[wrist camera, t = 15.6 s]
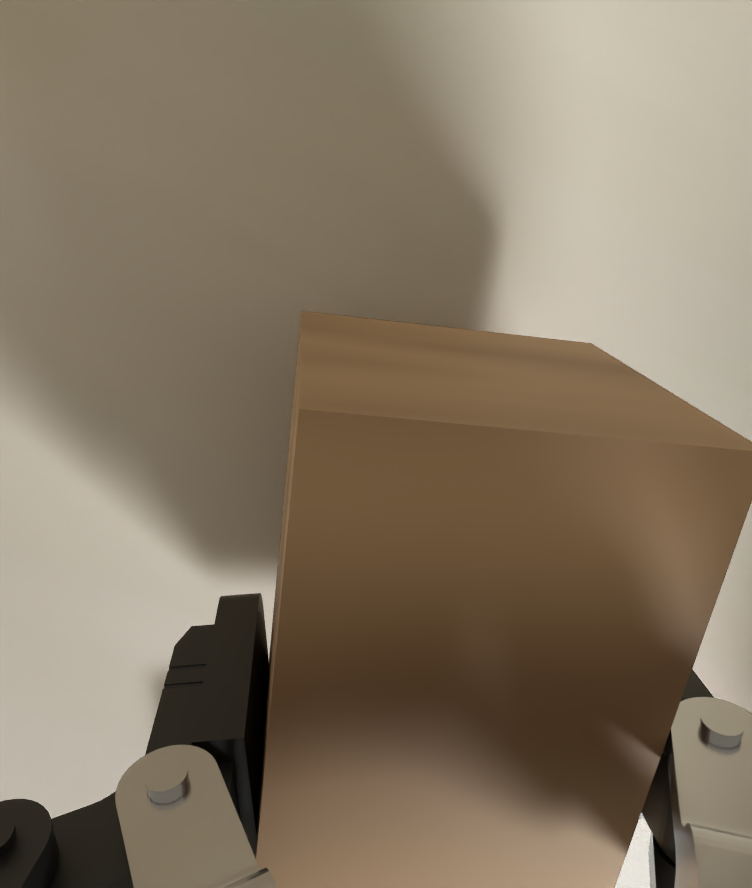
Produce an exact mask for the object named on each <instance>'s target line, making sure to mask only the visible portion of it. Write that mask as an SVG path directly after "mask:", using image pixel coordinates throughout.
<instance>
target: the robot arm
mask: <svg viewBox="0 0 752 888" xmlns="http://www.w3.org/2000/svg"><path fill="white" fill-rule="evenodd" d="M268 673H269V659H268V649H267V640H266V630H265V620H264V611H263V602H262V596H261V593H257V594H244V595H231V596H221V597H220V599H219V604H218V609H217V614H216V619H215V624H214V625H203V626H191V628H190V629H189V630H188V631H187V632H186V633H185V635H184V636H183V637H182V638H181V639H180V640H179V641H178V643H177V644H176V645H175V647H174V651H173V654H172V658H171V662H170V665H169V671H168V673H167V676H166V680H165V684H164V689H163V691H162V695H161V699H160V702H159V706H158V710H157V713H156V717H155V721H154V724H153V728H152V732H151V735H150V739H149V743H148V747H147V750H146V754H145V756H143V757H141V758H140V759H139V760H137V761H136V762H135V763H134V764H133V765H132V766H130V767H129V768H128V770H127V771H126V772H125V773H124V775H123V776H122V778H121V779H120V781H119V783H118V786H117V789H116V792H114V793H113V794H111V795H110V796H108V797H106V798H104V799H103V800H101V801H99V802H96V803H94V804H91V805H89V806H86V807H83V808H81V809H78V810H75V811H72V812H70V813H67V814H64V815H61V816H58V817H56V818H53V819H51V817H50V815H49V813H48V811H47V810H46V809H45V808H44V806H42V805H41V804H39V803H37V802H34V801H32V800H26V799H12V800H5V801H1V802H0V888H278V887H277V885H276V883H275V880H274V878H273V876H272V875H271V873H270V871H269V870H268V869H267V868H264V869H262V870H261V869H260V867H259V865H258V863H257V861H256V859H255V851H256V840H257V827H258V813H259V799H260V785H261V771H262V757H263V743H264V729H265V715H266V701H267V687H268ZM642 818H645V820H646V822H647V824H648V826H649V828H650V829H651V837H650V843H649V869H650V886H651V888H752V713H750V712H749V711H747V710H746V709H744V708H742V707H740V706H738V705H736V704H733V703H731V702H728V701H725V700H721V699H717V698H714V697H713V696H712V694H711V693H710V692H709V690H708V689H707V688H706V687H705V685H704V684H703V683H702V681H701V680H700V679H699V677H698V676H697V675H696V674H695V672H694V671H693V670H691V673H690V676H689V679H688V682H687V685H686V687H685V690H684V693H683V696H682V699H681V701H680V704H679V707H678V710H677V713H676V716H675V718H674V721H673V724H672V727H671V730H670V732H669V735H668V738H667V741H666V744H665V747H664V749H663V752H662V755H661V758H660V761H659V763H658V766H657V769H656V772H655V775H654V778H653V780H652V783H651V786H650V789H649V792H648V795H647V797H646V800H645V803H644V806H643V809H642V811H641V814H640V817H639V819H642Z"/></svg>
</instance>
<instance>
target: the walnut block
mask: <svg viewBox="0 0 752 888" xmlns="http://www.w3.org/2000/svg"><path fill="white" fill-rule="evenodd" d="M751 501H752V442H751V441H749V440H748V439H746V438H744V437H743V436H741V435H739V434H738V433H736V432H734V431H733V430H731V429H730V428H728V427H726V426H725V425H723V424H721V423H720V422H718V421H717V420H715V419H713V418H712V417H710V416H708V415H707V414H705V413H704V412H702V411H700V410H699V409H697V408H695V407H694V406H692V405H691V404H689V403H687V402H686V401H684V400H682V399H681V398H679V397H678V396H676V395H674V394H673V393H671V392H669V391H668V390H666V389H665V388H663V387H661V386H660V385H658V384H656V383H655V382H653V381H652V380H650V379H648V378H647V377H645V376H643V375H642V374H640V373H639V372H637V371H635V370H634V369H632V368H630V367H629V366H627V365H626V364H624V363H622V362H621V361H619V360H617V359H616V358H614V357H613V356H611V355H609V354H608V353H606V352H604V351H603V350H601V349H600V348H598V347H596V346H595V345H593V344H591V343H583V342H574V341H565V340H556V339H547V338H539V337H530V336H521V335H512V334H503V333H494V332H485V331H476V330H467V329H458V328H449V327H440V326H431V325H422V324H413V323H404V322H395V321H386V320H377V319H368V318H360V317H351V316H342V315H333V314H324V313H315V312H306V311H301V320H300V330H299V341H298V352H297V363H296V374H295V385H294V396H293V406H292V417H291V428H290V439H289V450H288V461H287V472H286V482H285V493H284V504H283V515H282V526H281V537H280V547H279V558H278V569H277V580H276V591H275V602H274V613H273V623H272V634H271V645H270V656H269V673H268V687H267V701H266V715H265V729H264V743H263V757H262V771H261V785H260V799H259V813H258V827H257V840H256V851H255V859H256V861H257V863H258V865H259V867H260V869H261V870H262V869H264V868H267V869H268V870H269V871H270V873H271V875H272V876H273V878H274V880H275V883H276V885H277V887H278V888H615V885H616V882H617V879H618V876H619V873H620V871H621V868H622V865H623V862H624V859H625V857H626V854H627V851H628V848H629V845H630V842H631V840H632V837H633V834H634V831H635V828H636V826H637V823H638V820H639V817H640V814H641V811H642V809H643V806H644V803H645V800H646V797H647V795H648V792H649V789H650V786H651V783H652V780H653V778H654V775H655V772H656V769H657V766H658V763H659V761H660V758H661V755H662V752H663V749H664V747H665V744H666V741H667V738H668V735H669V732H670V730H671V727H672V724H673V721H674V718H675V716H676V713H677V710H678V707H679V704H680V701H681V699H682V696H683V693H684V690H685V687H686V685H687V682H688V679H689V676H690V673H691V670H692V668H693V665H694V662H695V659H696V656H697V653H698V651H699V648H700V645H701V642H702V639H703V637H704V634H705V631H706V628H707V625H708V622H709V620H710V617H711V614H712V611H713V608H714V606H715V603H716V600H717V597H718V594H719V591H720V589H721V586H722V583H723V580H724V577H725V575H726V572H727V569H728V566H729V563H730V560H731V558H732V555H733V552H734V549H735V546H736V543H737V541H738V538H739V535H740V532H741V529H742V527H743V524H744V521H745V518H746V515H747V512H748V510H749V507H750V504H751Z"/></svg>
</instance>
